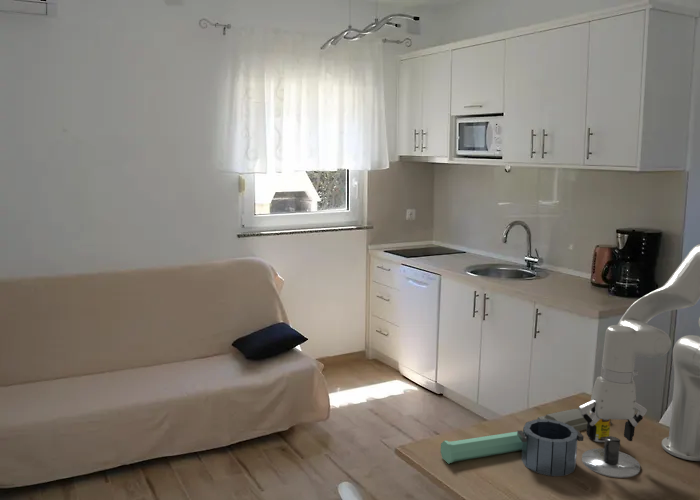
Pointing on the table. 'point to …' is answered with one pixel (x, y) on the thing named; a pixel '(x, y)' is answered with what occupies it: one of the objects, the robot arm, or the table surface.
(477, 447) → the mint green octagonal rod
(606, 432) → the supplement bottle
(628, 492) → the table surface
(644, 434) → the table surface
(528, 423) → the pot
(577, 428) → the soap mold
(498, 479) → the table surface
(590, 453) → the lid
